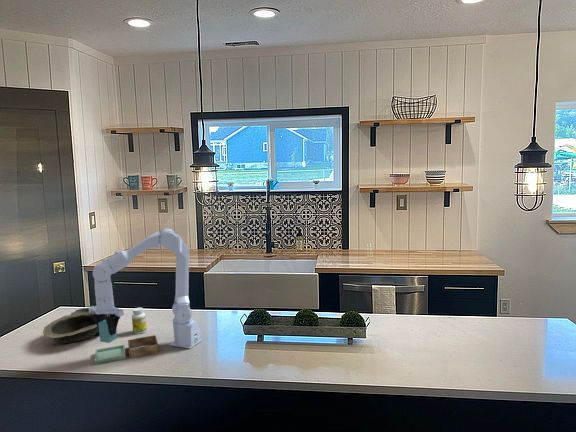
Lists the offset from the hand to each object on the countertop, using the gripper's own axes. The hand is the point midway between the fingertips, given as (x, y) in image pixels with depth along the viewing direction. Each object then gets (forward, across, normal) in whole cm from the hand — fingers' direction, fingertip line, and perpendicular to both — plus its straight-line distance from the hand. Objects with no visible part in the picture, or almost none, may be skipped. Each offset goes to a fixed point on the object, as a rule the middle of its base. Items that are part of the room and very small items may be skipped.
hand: (108, 333), depth 159 cm
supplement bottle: (+9, -6, +22) cm, 24 cm away
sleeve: (+8, +8, +8) cm, 14 cm away
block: (+2, 0, 0) cm, 2 cm away
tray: (+8, 0, 0) cm, 8 cm away
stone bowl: (+9, -26, +9) cm, 29 cm away
